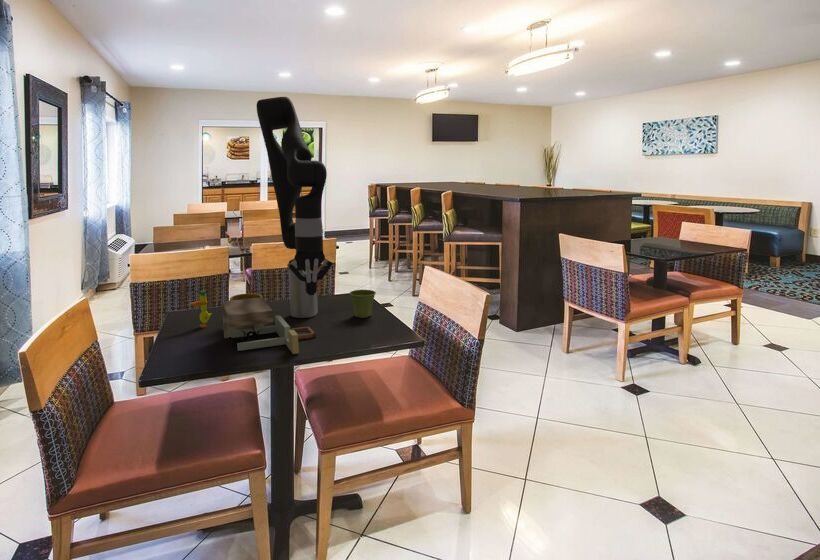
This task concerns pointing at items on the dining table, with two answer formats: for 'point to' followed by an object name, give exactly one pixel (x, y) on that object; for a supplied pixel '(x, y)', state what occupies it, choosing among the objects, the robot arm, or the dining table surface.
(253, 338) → the creature
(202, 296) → the toy figure
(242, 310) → the tunnel
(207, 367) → the dining table surface
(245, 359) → the dining table surface
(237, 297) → the plant pot
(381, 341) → the dining table surface
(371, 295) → the plant pot
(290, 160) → the robot arm
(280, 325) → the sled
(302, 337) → the brown tray
